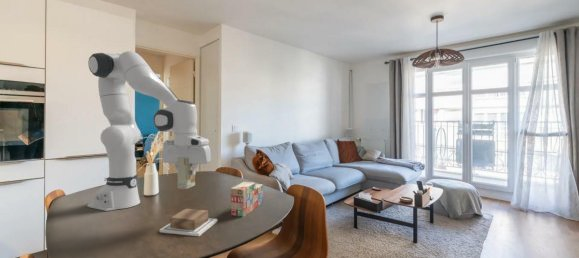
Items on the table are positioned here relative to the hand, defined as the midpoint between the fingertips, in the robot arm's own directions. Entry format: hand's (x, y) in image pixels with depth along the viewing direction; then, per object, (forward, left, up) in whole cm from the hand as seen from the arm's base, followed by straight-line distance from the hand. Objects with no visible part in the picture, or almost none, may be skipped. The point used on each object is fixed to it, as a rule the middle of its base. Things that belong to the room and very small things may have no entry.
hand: (186, 174), depth 105 cm
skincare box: (0, 0, -6) cm, 6 cm away
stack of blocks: (+19, +21, -20) cm, 34 cm away
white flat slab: (+4, -4, -20) cm, 20 cm away
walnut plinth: (+4, -4, -20) cm, 20 cm away
